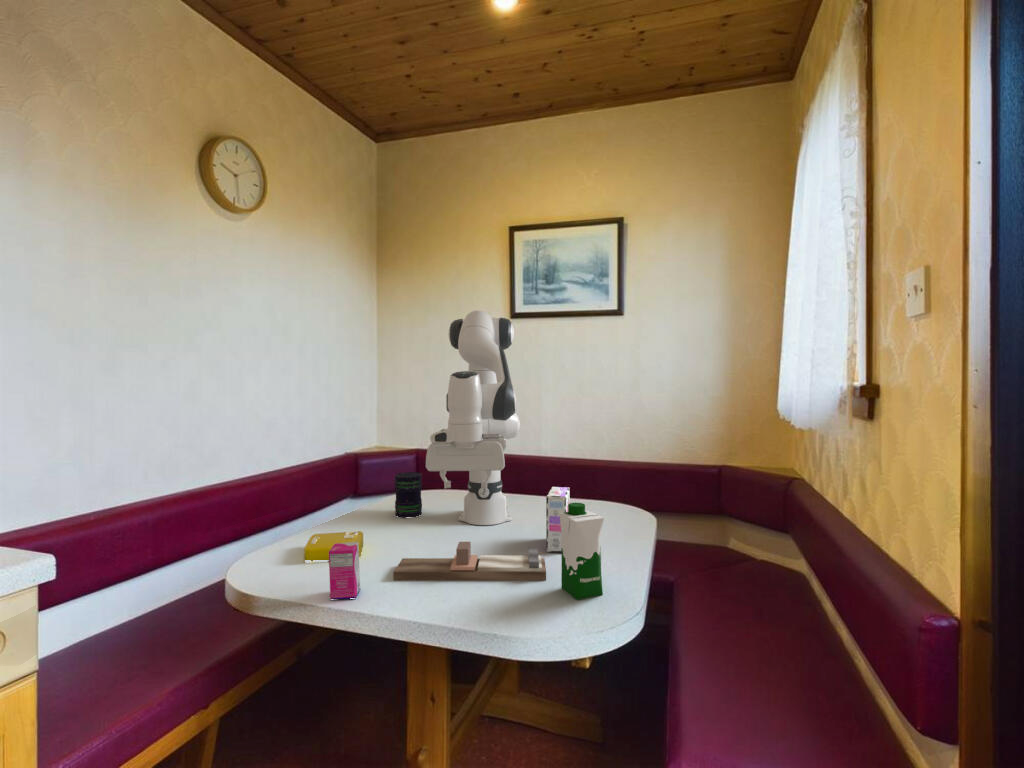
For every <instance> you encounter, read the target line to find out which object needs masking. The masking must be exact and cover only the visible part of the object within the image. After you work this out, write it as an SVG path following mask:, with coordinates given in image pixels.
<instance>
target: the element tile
mask: <svg viewBox="0 0 1024 768" xmlns="http://www.w3.org/2000/svg"><path fill="white" fill-rule="evenodd" d="M352 542H359V557H360V556H361V557H362V554H361V552H362V553H363V549H364V532H363V531H361V530H359V531H352V530H351V531H342V532H340V531H339V532H327V533H314V534H312V535H311V536H310V537H309V539H308V540H307V543H306V544H305V546H304V549H303V551H304V553H303V556H304V557H303V559H305V560H311V561H313V560H329V551H330V549H331V548H332V547H333V545H334V544H335V543H352ZM362 548H363V549H362ZM361 557H360V558H361Z"/></svg>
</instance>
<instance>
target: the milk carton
mask: <svg viewBox="0 0 1024 768" xmlns="http://www.w3.org/2000/svg"><path fill="white" fill-rule="evenodd" d="M559 515H560V524H561V552H562V553H561V590H563V591H564V592H565V593H567V594H568V595H569V596H571V597H572V598H573V599H575V600H576V601H579V600H583V599H588V598H593V597H598V596H603V577H602V530H603V525H604V520H605V518H604V517H603V516H601V515H599V514H597V513H595V512H592V511H591V510H587V509H586V504H585V503H582V502H570V504H568V512H564V513H560V514H559Z"/></svg>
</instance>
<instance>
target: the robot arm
mask: <svg viewBox="0 0 1024 768" xmlns="http://www.w3.org/2000/svg"><path fill="white" fill-rule="evenodd" d="M514 338H515V328H514V326H513V324H512V321H511V320H510V319H509V318H505V317H499V318H498V317H491V316H490V315H489V313H487V312H486V311H484V310H477V309H476V310H473V311H470V312H469V313H468V314H467V315H466V316H465V318H457V319H455V320H453V321H452V322H451V323H450V326H449V328H448V340H449V343H450V345H451V346H452V348H454V349H456V350H458V353H459V355H460V357H461V358H462V360H463V361H465V362H466V364H467V363H468V370H467V371H466V370H464V371H455V372H453V373H451V374H450V376H449V380H448V391H447V393H446V398H445V399H446V402H445V403H446V406H445V407H446V411H447V412H448V413H449V415H448V419H447V428H443V429H440V430H439V431H435V432H433V433H431V434H430V442H431V443H430V444H429V446H428V447H427V450H426V455H425V468H426V469H427V471H428V472H439V476H440V478H441V480H442V481H443V486H444V488H443V489H444V490H445V489H446V490H447V489H448V490H449V489H451V488H452V484H451V483H452V481H451V480H448V479H447V477H446V474H447V472H469V473H468V474H469V475H468V477H469V480H468V483H467V491H468V492H467V494H465V496H464V497H463V513H462V514H461V515H459V517H458V521H460V522H464V523H467V524H470V525H475V526H492V525H499V524H502V523H505V522H509V521H510V522H511V521H512V520H513V517H512V515H511V514H510V513H509V511H508V510H507V509H508V506H507V496H506V495H505V494H504V493H503V492H502V490H503V481H502V478H501V473H502V472H501V471H503V469H504V468H505V467H506V464H505V463H506V462H505V454H504V453H505V452H504V451H505V450H506V447H507V440H511V439H513V438H516V437H517V435H518V434H519V432H520V429H521V421H520V418H519V416H518V415H517V413H516V410H517V407H518V406H517V403H518V400H517V395H516V392H515V390H514V387H513V382H512V379H511V374H510V369H509V364H508V359H507V357H506V353H505V351H506V350H507V349H509V347H511V345H512V344H513V341H514ZM504 350H505V351H504Z"/></svg>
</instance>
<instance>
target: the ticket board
mask: <svg viewBox="0 0 1024 768" xmlns="http://www.w3.org/2000/svg"><path fill="white" fill-rule="evenodd" d="M453 559H454V557H452V558H451V557H450V558H448V557H447V558H444V557H443V558H438V557H436V558H434V557H433V558H425V557H424V558H423V557H422V558H421V557H420V558H419V557H418V558H416V557H415V558H413V557H412V558H410V557H408V558H407V557H405V558H402V559H401V560H400V561H399V563H398V564H397V566H396V567H395V569H394V571H393V577H392V578H393V581H547V569H546V567H547V566H546V560H545V559H546V558H544V557H543V558H542V556H541V554H539V549H538V548H528V555H527V554H526V555H523V554H522V555H521V554H520V555H515V554H513V555H511V554H510V555H509V554H508V555H506V554H503V555H502V554H501V555H500V554H495V555H493V554H492V555H490V554H488V555H485V554H484V555H483V554H481V555H480V557H478V559H477V563H476V567H475V570H451V564H452V562H453Z"/></svg>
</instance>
